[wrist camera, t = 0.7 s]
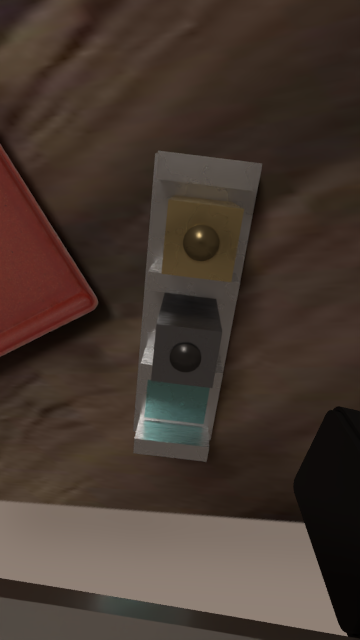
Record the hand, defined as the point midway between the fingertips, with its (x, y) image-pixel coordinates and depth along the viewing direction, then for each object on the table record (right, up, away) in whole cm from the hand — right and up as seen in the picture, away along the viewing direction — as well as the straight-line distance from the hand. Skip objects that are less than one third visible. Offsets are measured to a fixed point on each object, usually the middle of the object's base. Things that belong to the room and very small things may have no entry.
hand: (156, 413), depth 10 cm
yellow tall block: (+2, +10, +18) cm, 21 cm away
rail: (+1, +3, +23) cm, 23 cm away
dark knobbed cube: (+1, +3, +21) cm, 21 cm away
